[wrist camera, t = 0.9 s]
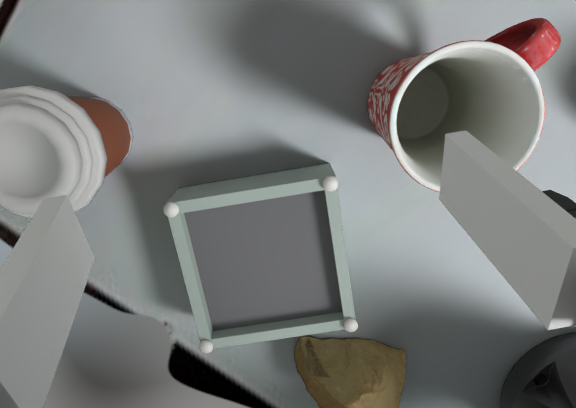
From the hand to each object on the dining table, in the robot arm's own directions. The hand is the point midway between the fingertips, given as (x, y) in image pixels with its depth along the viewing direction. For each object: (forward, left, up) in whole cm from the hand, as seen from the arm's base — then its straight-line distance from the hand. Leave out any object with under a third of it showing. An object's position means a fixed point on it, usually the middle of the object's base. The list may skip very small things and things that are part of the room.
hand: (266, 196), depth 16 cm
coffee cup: (+1, +16, -25) cm, 30 cm away
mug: (0, -13, -25) cm, 28 cm away
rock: (-25, -3, -25) cm, 35 cm away
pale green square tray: (-12, +3, -25) cm, 27 cm away
